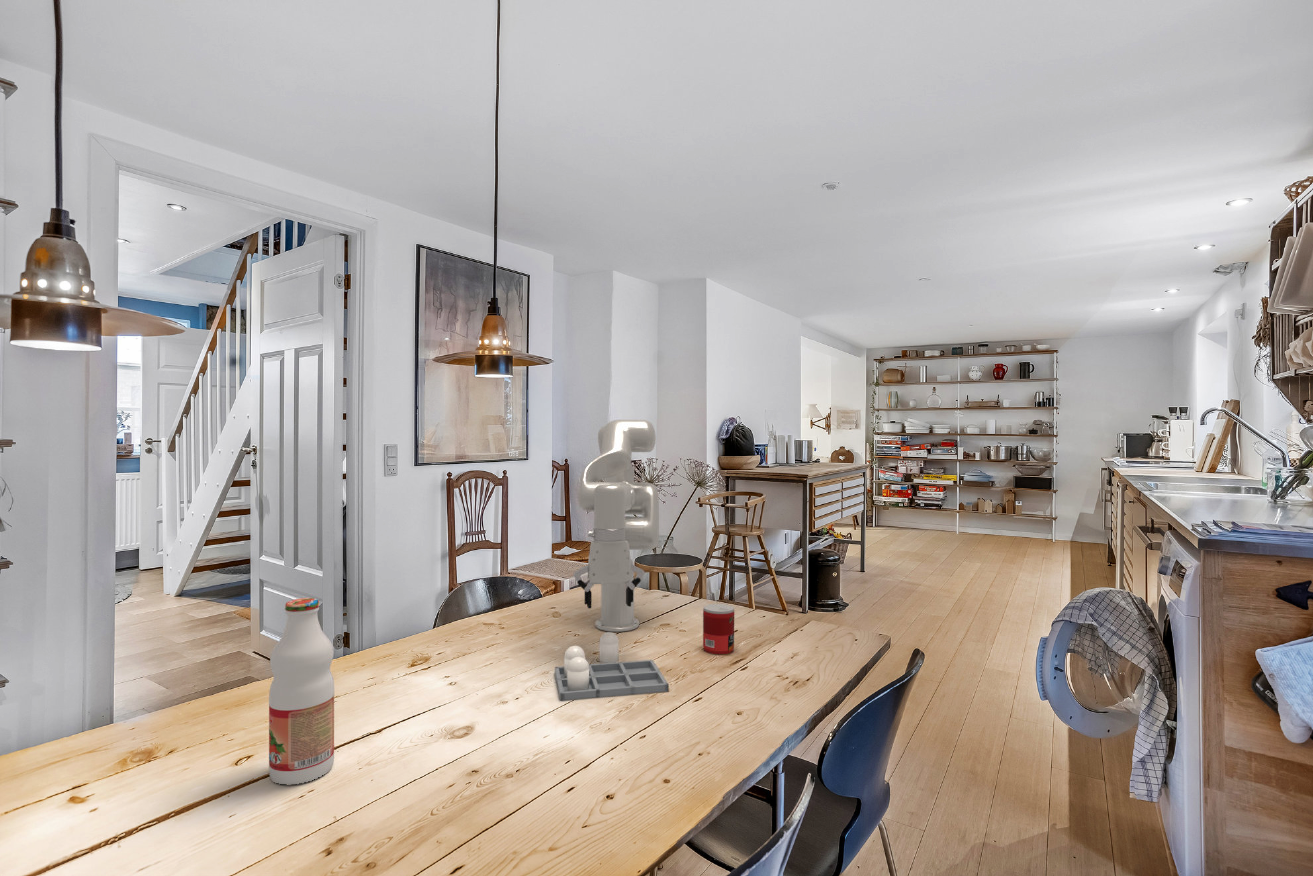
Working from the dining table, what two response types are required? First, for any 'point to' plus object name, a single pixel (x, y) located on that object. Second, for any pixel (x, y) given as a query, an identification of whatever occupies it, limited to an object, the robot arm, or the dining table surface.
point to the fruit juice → (301, 698)
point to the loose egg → (608, 648)
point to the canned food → (718, 628)
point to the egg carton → (615, 680)
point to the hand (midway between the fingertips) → (608, 606)
